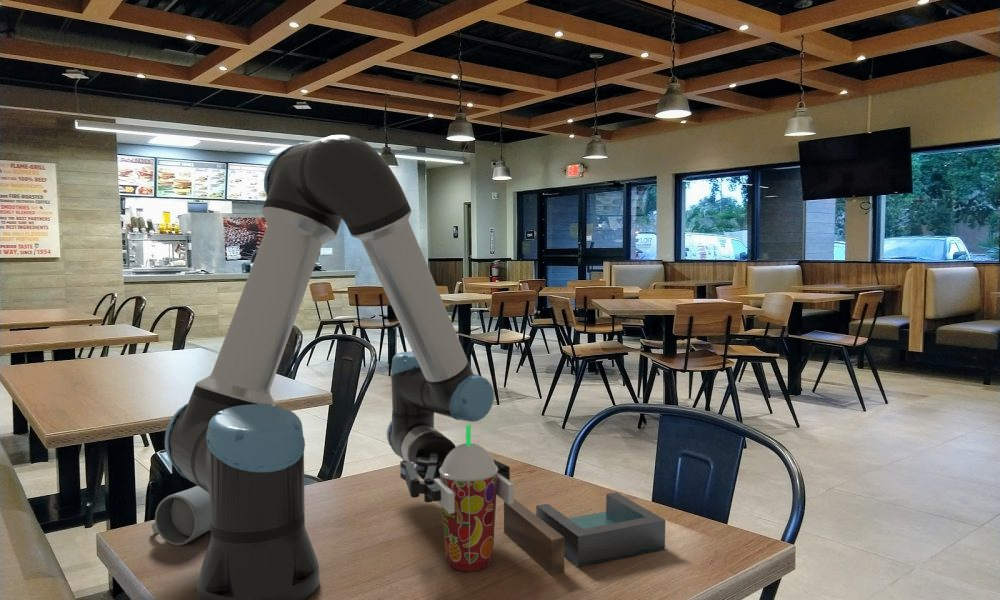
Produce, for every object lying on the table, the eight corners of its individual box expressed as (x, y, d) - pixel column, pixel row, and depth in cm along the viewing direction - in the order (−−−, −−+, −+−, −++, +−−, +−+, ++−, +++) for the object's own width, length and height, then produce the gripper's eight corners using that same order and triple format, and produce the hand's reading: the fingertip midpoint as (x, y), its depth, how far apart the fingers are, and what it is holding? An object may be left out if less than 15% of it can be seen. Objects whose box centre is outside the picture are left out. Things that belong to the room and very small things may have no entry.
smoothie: (436, 553, 100) (435, 419, 98) (492, 547, 101) (491, 416, 100) (444, 579, 92) (442, 434, 90) (504, 573, 93) (503, 431, 92)
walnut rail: (551, 575, 93) (551, 539, 93) (503, 532, 107) (503, 501, 107) (564, 572, 94) (564, 537, 93) (515, 529, 108) (515, 499, 108)
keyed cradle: (578, 567, 95) (578, 536, 95) (530, 528, 109) (530, 501, 109) (664, 549, 101) (665, 519, 101) (609, 514, 115) (609, 488, 115)
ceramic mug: (231, 527, 109) (229, 480, 109) (196, 548, 101) (194, 498, 101) (175, 522, 112) (173, 476, 112) (137, 542, 104) (135, 493, 104)
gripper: (487, 468, 117) (549, 514, 96) (368, 484, 108) (407, 538, 88) (487, 425, 116) (550, 462, 95) (367, 438, 108) (407, 481, 87)
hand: (481, 498), depth 91 cm, fingers closed on smoothie, 8 cm apart
